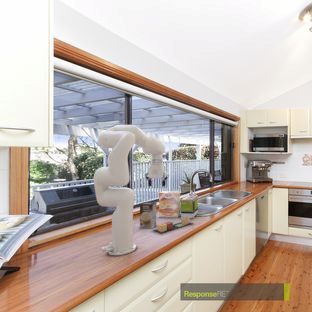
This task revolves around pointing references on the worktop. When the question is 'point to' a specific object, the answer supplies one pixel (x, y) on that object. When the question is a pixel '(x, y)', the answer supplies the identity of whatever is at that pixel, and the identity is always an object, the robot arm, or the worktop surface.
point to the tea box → (189, 206)
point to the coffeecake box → (169, 204)
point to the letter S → (169, 225)
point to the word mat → (163, 227)
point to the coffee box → (147, 215)
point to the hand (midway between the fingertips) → (156, 186)
